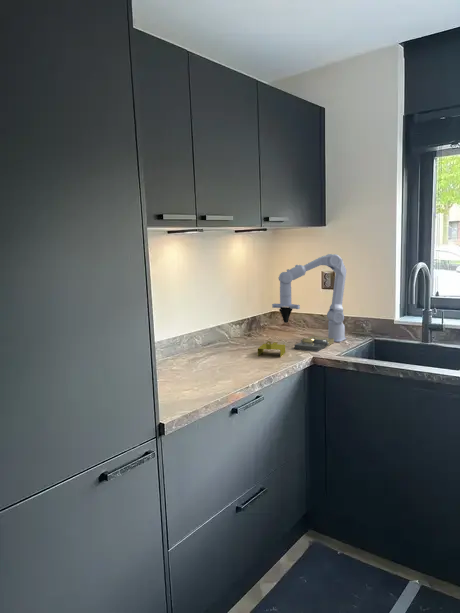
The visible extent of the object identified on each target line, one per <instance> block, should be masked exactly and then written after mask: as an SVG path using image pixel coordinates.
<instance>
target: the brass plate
mask: <svg viewBox="0 0 460 613" xmlns="http://www.w3.org/2000/svg"><path fill="white" fill-rule="evenodd" d="M315 339H319V340H327V342H328V343H329V345H327V347H328V346H330V345H333V344H334V343H335V342H334V338H328V337H321V336H320V337H319V336H309V337H302V338H301V340H300V342H310V343H314V340H315Z"/></svg>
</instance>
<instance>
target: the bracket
mask: <svg viewBox="0 0 460 613" xmlns="http://www.w3.org/2000/svg"><path fill="white" fill-rule="evenodd" d="M265 350H280V357H281V356H282V355H283V356H284V354H286V344H279V343H278V342H275V341H274V342H273V343H271V342H270V341H269V340H268V341H266V343H263V344H262V345H260V346H259V347H258V348H257V357H260V355H261V354H263V353H264V352H265ZM281 358H282V357H281Z"/></svg>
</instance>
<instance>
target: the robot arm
mask: <svg viewBox="0 0 460 613" xmlns="http://www.w3.org/2000/svg"><path fill="white" fill-rule="evenodd" d="M319 266H326V267H327V268H330V269H331V270H332V271H333V272H334V274H335V276H334V283H333V289H332V290H333V292H332V298H331V299H332V300H331V304H330V306H329V309H328V311H327V313H326V316H327V319H328V321H327V322H328V323H327V325H328V326H327V327H328V328H327V329H328V333H327V334H328V335H327V336H328V337H327V338H334V343H335V342H336V343H341V342H344V340H347V337H345V336H346V326H345V324H344V323H343V322H344V320H345V315H344V307H343V300H344V299H343V298H344V292H345V285H346V277H347V268H346V266H345V263H344V260H343V258H342V257H341V256H340V255H338V254H336V253H335V254H332V253H327V254H326V255H323V256H320V257H317V258H315V259H314V260H312V261H310V262H308V263H306V264H304V265H302V264H295V265H294V267H291V268H290V269H286V271H282V272H280V274H279V275H278V281H279V303H272V304H271V306H272V309H274V308H277V309H279V312H280V314H281V317H282V319H283V323H284V324H287V323H289V319H290V316H291V313H292V311H293V310H300V309H301V306H300V304H293V303H292V281H295V280H297V279H299V278H301V277H303V276H305V275H306V273H307V272H308V271H310V270H312V269H315V268H317V267H319Z"/></svg>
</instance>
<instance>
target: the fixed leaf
mask: <svg viewBox="0 0 460 613" xmlns="http://www.w3.org/2000/svg"><path fill="white" fill-rule="evenodd" d="M327 345H329V343H328V342H327V340H319V339H315V340H314V343H310V342H301V341H300V342H297V343H295V344H294V350H300V349H301V350H302V351H311V352H320V351H321V350H324V349H325V348H327V347H328V346H327ZM329 346H330V345H329ZM301 350H300V351H301Z"/></svg>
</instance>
